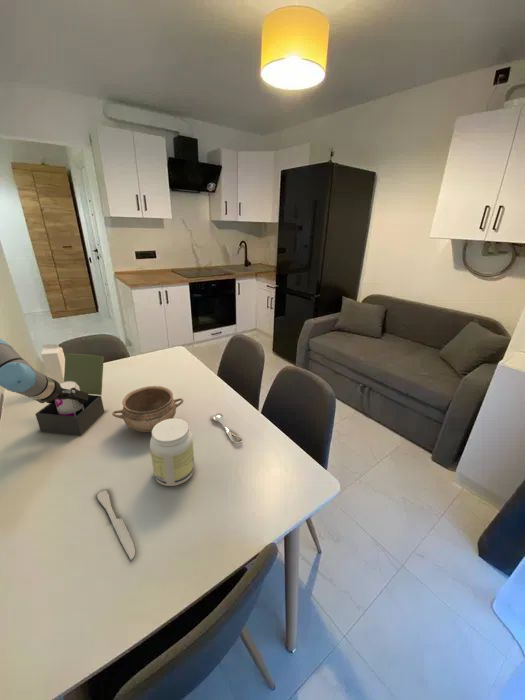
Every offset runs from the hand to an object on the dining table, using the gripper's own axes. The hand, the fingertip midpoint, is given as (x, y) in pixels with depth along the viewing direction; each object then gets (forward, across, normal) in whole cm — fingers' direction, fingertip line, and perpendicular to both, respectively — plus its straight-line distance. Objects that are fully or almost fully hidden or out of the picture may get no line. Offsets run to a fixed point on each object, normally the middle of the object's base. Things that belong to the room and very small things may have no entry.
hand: (74, 402), depth 112 cm
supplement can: (+2, 0, -6) cm, 7 cm away
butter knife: (-30, +27, -39) cm, 56 cm away
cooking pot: (-2, +30, -11) cm, 32 cm away
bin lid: (-2, +2, +11) cm, 11 cm away
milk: (+20, -15, +11) cm, 28 cm away
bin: (+2, 0, -7) cm, 7 cm away
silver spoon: (-6, +58, -16) cm, 60 cm away
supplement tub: (-19, +40, -28) cm, 53 cm away
